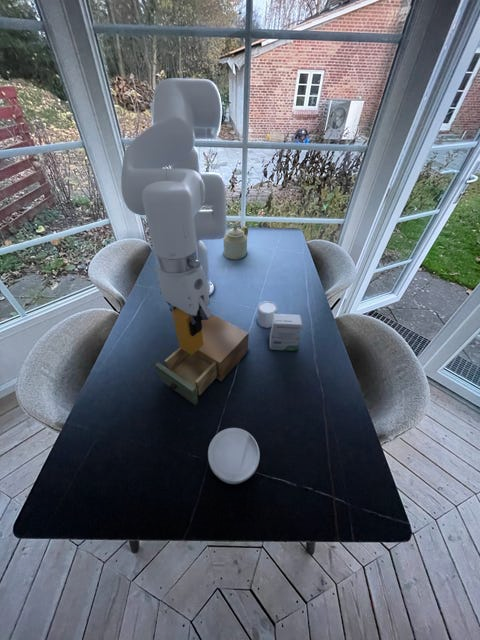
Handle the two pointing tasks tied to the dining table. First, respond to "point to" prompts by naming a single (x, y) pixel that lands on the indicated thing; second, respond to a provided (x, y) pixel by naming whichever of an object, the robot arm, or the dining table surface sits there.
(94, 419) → the dining table surface
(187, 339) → the block
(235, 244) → the sugar bowl
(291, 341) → the ink box
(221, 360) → the cabinet
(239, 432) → the ramekin
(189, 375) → the drawer
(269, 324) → the white cylinder
